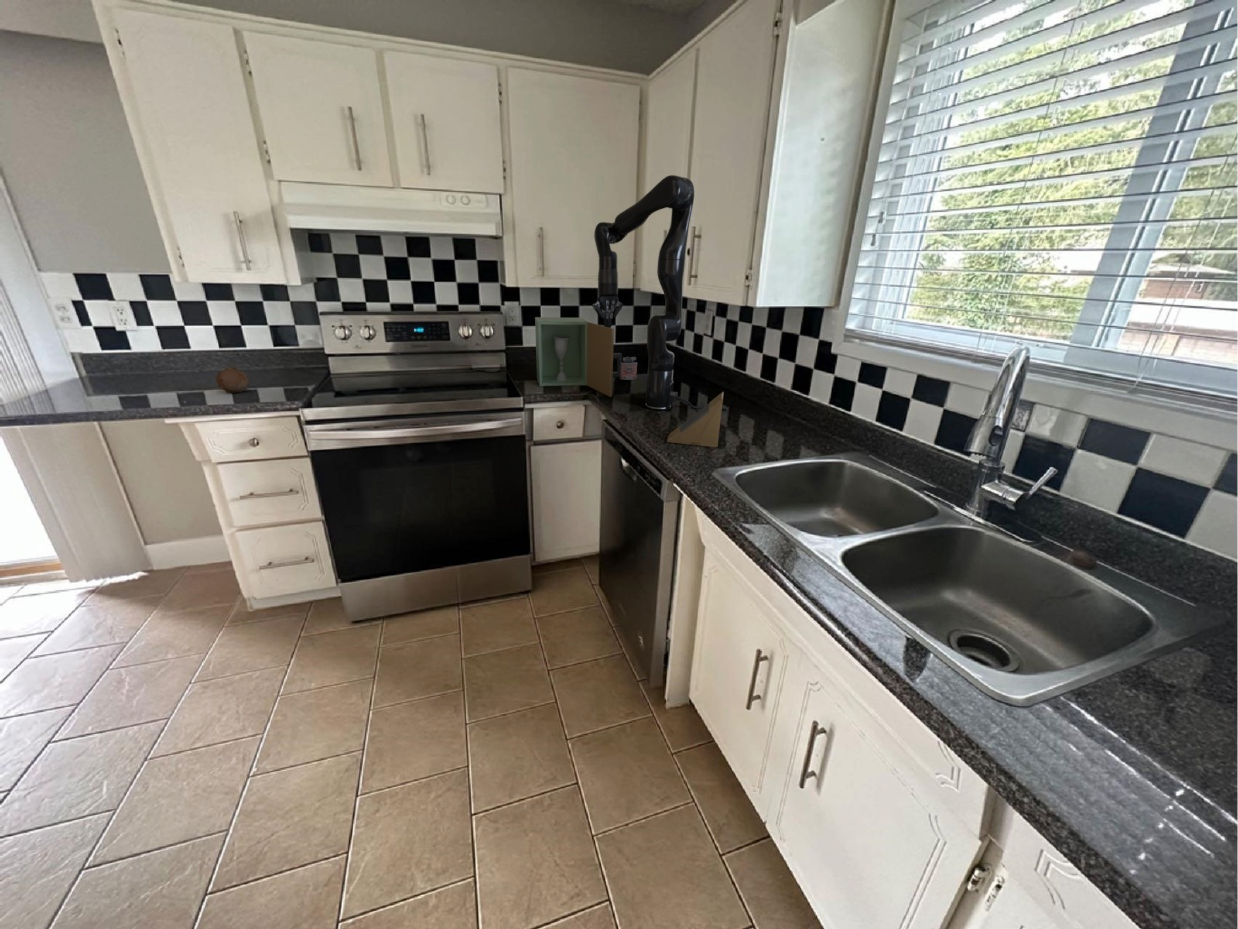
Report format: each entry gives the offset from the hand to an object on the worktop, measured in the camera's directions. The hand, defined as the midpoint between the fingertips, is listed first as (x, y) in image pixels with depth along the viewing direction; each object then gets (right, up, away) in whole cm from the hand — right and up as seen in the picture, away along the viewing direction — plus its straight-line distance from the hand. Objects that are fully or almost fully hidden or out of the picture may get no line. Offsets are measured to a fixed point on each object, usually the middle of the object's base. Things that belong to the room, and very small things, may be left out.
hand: (607, 328), depth 195 cm
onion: (-138, -26, -9) cm, 141 cm away
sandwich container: (+27, -46, -41) cm, 67 cm away
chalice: (-21, -16, +23) cm, 35 cm away
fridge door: (-2, -22, +12) cm, 25 cm away
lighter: (+8, -14, +34) cm, 37 cm away
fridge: (-21, -17, +24) cm, 36 cm away
